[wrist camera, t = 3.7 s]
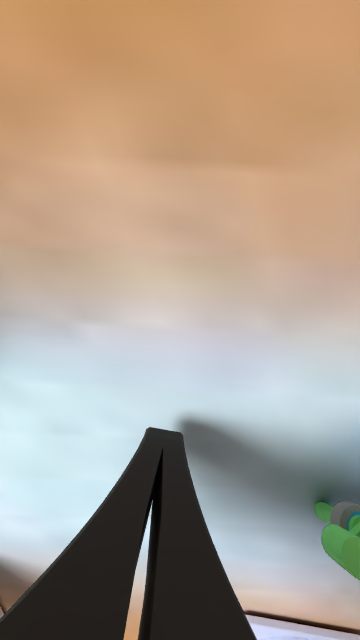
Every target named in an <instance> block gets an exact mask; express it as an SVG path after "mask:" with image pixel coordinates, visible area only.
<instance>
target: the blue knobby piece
mask: <svg viewBox="0 0 360 640" xmlns="http://www.w3.org/2000/svg"><path fill="white" fill-rule="evenodd" d="M315 513H316V515H317V516H318V517H319V518H320V519H321V520H323V521H325V522H326V523H328V524H330V525H328V526H326V527H325V528H324V530H323V532H322V538H321V539H322V544H323V548H324V549H325V551H326V553H327V554H328V555H329V556H330V557H331V558H332V559H333V560H334V561H336V562H337V563H338V564H339V565H340V566H342V567H343V568H344V569H345V570H347V571H348V572H349V573H350V574H351V575H353V576H354V577H355V578H357V579H359V580H360V504H357V503H354V502H350V501H341V502H339V503H337V504H336V505H335V506H334V507H333V506H331V505H329V504H327V503H325V502H318V503H316V504H315Z"/></svg>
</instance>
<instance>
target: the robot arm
mask: <svg viewBox="0 0 360 640" xmlns="http://www.w3.org/2000/svg"><path fill="white" fill-rule="evenodd" d="M152 500H153V502H152ZM151 504H152V514H151V526H150V538H149V550H148V562H147V574H146V584H145V593H144V601H143V608H142V615H141V621H140V628H139V635H138V640H360V635H357V634H352V633H346V632H340V631H335V630H329V629H324V628H318V627H313V626H307V625H302V624H296V623H291V622H285V621H279V620H274V619H268V618H263V617H257V616H252V615H245V614H244V611H243V609H242V607H241V605H240V603H239V601H238V599H237V597H236V595H235V593H234V591H233V589H232V586H231V584H230V582H229V580H228V577H227V575H226V573H225V570H224V568H223V566H222V563H221V561H220V559H219V556H218V554H217V551H216V549H215V546H214V544H213V541H212V539H211V536H210V534H209V531H208V528H207V525H206V523H205V520H204V517H203V514H202V511H201V508H200V505H199V502H198V499H197V496H196V492H195V489H194V485H193V482H192V478H191V475H190V471H189V467H188V463H187V458H186V453H185V448H184V441H183V435H182V434H181V433H179V432H174V431H168V430H163V429H157V428H152V427H149V428H147V429H146V432H145V435H144V437H143V439H142V441H141V443H140V445H139V447H138V449H137V451H136V453H135V454H134V456H133V458H132V459H131V461H130V463H129V464H128V466H127V468H126V469H125V471H124V472H123V474H122V475H121V477H120V478H119V480H118V481H117V483H116V484H115V486H114V487H113V488H112V490H111V491H110V493H109V494H108V496H107V497H106V498H105V500H104V501H103V503H102V504H101V505H100V506H99V508H98V509H97V510H96V512H95V513H94V514H93V516H92V517H91V518H90V519H89V521H88V522H87V523H86V524H85V526H84V527H83V528H82V529H81V531H80V532H79V533H78V534H77V535H76V537H75V538H74V539H73V540H72V541H71V542H70V544H69V545H68V546H67V547H66V548H65V549H64V551H63V552H62V553H61V554H60V555H59V556H58V557H57V559H56V560H55V561H54V562H53V563H52V564H51V565H50V566H49V568H48V569H47V570H46V571H45V572H44V573H43V574H42V575H41V576H40V577H39V578H38V579H37V580H36V581H35V583H34V584H33V585H32V586H31V587H30V588H29V589H28V590H27V591H26V592H25V593H24V594H23V595H22V596H21V597H20V598H19V599H18V600H17V601H16V602H15V604H14V605H13V606H12V607H11V608H10V609H9V610H8V611H7V612H6V613H5V614H4V615H3V616H2V617H1V618H0V640H123V638H124V632H125V627H126V621H127V615H128V609H129V604H130V598H131V592H132V586H133V581H134V575H135V570H136V565H137V561H138V557H139V553H140V549H141V545H142V541H143V537H144V533H145V529H146V524H147V520H148V516H149V512H150V508H151Z"/></svg>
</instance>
